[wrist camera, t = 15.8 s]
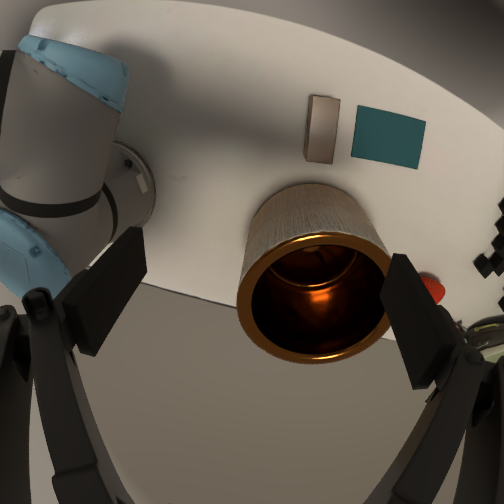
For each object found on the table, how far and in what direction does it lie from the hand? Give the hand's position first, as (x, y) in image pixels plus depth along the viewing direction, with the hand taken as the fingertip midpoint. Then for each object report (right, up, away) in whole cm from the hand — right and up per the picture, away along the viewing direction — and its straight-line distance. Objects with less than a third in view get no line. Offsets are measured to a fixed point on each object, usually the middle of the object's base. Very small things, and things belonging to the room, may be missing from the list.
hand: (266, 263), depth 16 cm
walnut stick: (+8, +16, +21) cm, 28 cm away
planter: (+8, +2, +29) cm, 30 cm away
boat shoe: (+56, -22, +27) cm, 66 cm away
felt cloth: (+18, +16, +20) cm, 31 cm away
